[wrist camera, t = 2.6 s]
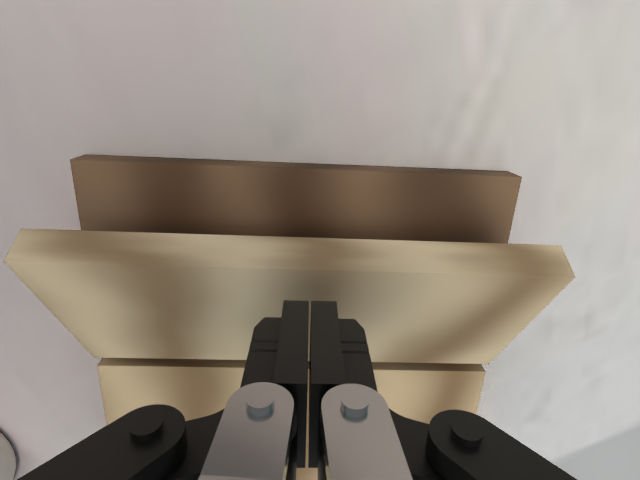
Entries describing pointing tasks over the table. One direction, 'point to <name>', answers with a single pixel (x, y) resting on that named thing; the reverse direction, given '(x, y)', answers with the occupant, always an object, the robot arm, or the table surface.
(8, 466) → the milk bottle
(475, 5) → the table surface
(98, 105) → the table surface
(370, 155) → the table surface
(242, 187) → the floor board
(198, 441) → the robot arm
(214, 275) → the oak plank
